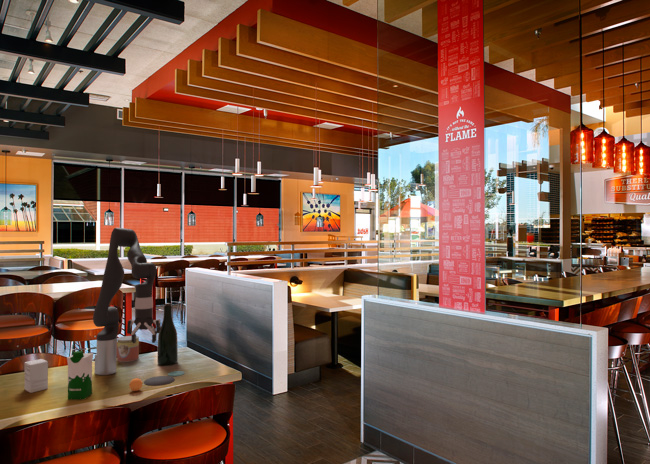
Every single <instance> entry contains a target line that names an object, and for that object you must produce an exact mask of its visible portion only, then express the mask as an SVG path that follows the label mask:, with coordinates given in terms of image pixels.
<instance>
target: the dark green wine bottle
mask: <svg viewBox="0 0 650 464" xmlns="http://www.w3.org/2000/svg"><path fill="white" fill-rule="evenodd" d="M174 323H175V322H174V320H173V305H172V303H170V302H165V303H164V305H163V317H162V323H161V324H160V325H161V332H159V333H157V365H159V366H173V365H176V364H177V363H178V359H179V358H178V357H179V356H178V354H179V353H178V350H179V349H178V332H177V329H176V326H175V324H174Z"/></svg>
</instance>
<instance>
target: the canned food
mask: <svg viewBox="0 0 650 464" xmlns="http://www.w3.org/2000/svg"><path fill="white" fill-rule="evenodd" d="M139 341H140V336H137V335H136V343H133V342H132V335H124V336H120V337H118V338H117V362H121V363H127V362H128V363H130V362H135V361H137V360H139V359H140V357H139V356H140V355H139V351H140V350H139V348H140V346H139V345H140V344H139V343H140V342H139Z"/></svg>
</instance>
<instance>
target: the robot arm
mask: <svg viewBox="0 0 650 464" xmlns="http://www.w3.org/2000/svg"><path fill="white" fill-rule="evenodd" d="M119 247H120V248H121V247H122V248H129V249H128V250H127V255H126V257H127V259H128V262H129V264H130V265H131V275H132V277H133V278H134V279H136V280H139V279H143V280H144V279H145V281H144V282H141V283H138V284H137V285H136V286H135V301H134V317H135V318H134V319H129V320H127V325H126V326H127V329H126V333H127V334H128V335H130V336H132V342H133V343H136V336H137V332H138V331H139V330H140V331H142V330H146V331H147V330H148V331H149V332H150V334H152V335H151V343H152V344H155V343H156V342H157V336H158V334H159V332H161V325H162V324H161V319H154V311H153V310H154V299H153V287H154V281H155V280H156V279H155V278H156V274H157V271H158V269H157V266H156V264H155V263H154V262H148V260H147V258H146V255H145V254H144V253H143V251H142V249H141V246H140V242H139V238H138V236H137V232H136V231H135V230H133V229H131V228H123V227H114V228H113V229H112V231H111V233H110V239H109V247H108V255H107V260H106V264H105V269H104V272H103V277H102V281H101V286H100V292H99V296H98V299H97V302H96V304H95V308H94V310H93V314H92V321H93V324H94V326H95V327H97V328H102V327H103V329H102V330H101V331H100V332H98V333H97V334H96V354H95V355H94V374H95V375H97V376H108V375H112V374H115V373H116V372H117V362H118V361H117V339H118V338H117V335H118V333H119V327H120V326H119V323H120V314H119V310H118V309H117V307H115V306H110V305H111V301H112V300H113V298H114V297H115V296H116V294H117V293H118V292H119V291H120V289H121V287H122V285H123V282H124V281H123V280H124V278H125V269H124V267H123V264H122V262H121V261H120V258H119V255H118V254H119V253H118V252H119ZM153 324H154V325H155V327H154V325H153ZM133 325H135V327H134V328H133Z"/></svg>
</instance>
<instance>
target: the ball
mask: <svg viewBox="0 0 650 464" xmlns="http://www.w3.org/2000/svg"><path fill="white" fill-rule="evenodd" d="M128 386H129V389H130V390H131V391H133V392H138V391H140V390H141V389H142V387H143V381H142V379H140V378H136V377H135V378H132V379H131V380H130V382H129V383H128Z"/></svg>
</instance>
